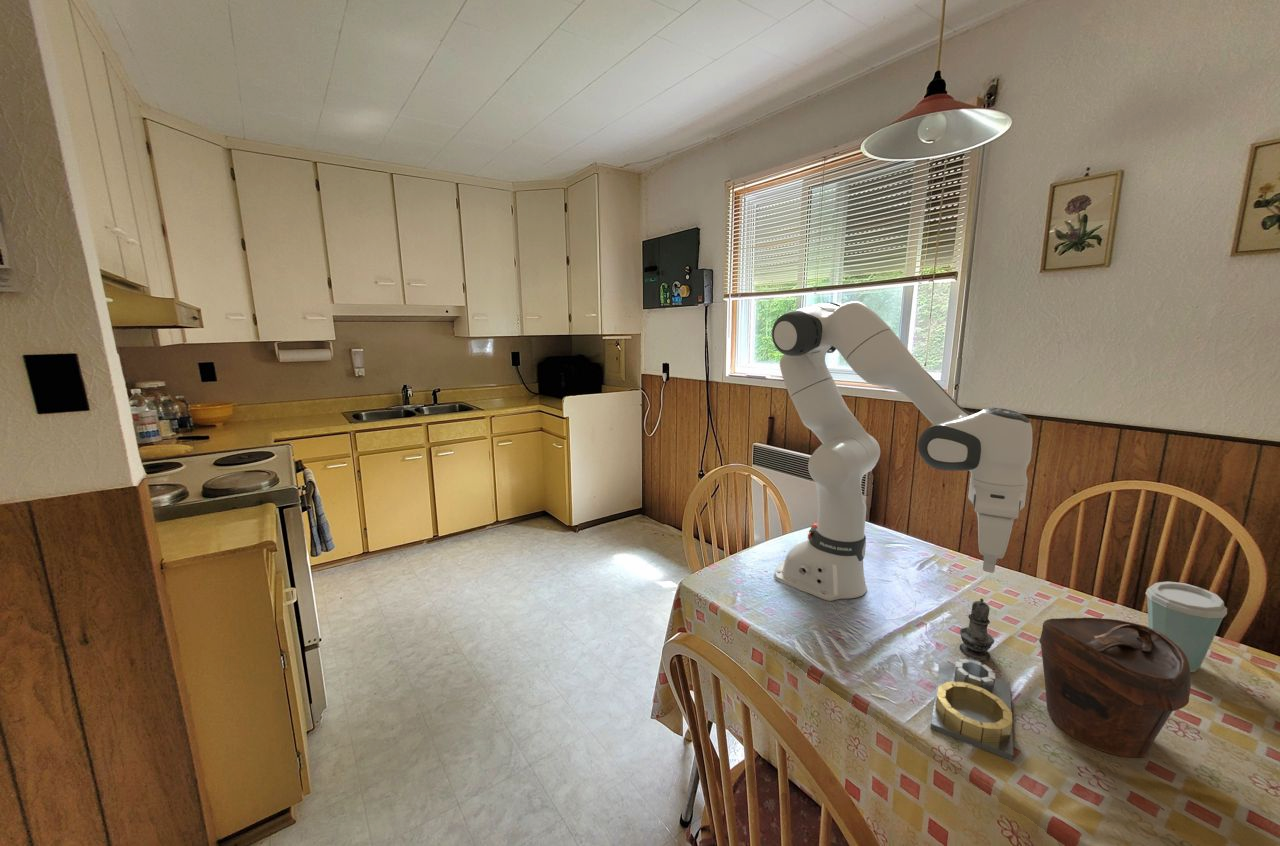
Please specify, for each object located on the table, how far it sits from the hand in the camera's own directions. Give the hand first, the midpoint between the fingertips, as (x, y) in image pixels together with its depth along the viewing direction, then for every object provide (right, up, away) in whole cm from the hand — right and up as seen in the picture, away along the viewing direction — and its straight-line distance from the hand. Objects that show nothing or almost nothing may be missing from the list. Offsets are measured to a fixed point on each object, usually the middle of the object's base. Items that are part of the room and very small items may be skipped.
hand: (988, 560), depth 97 cm
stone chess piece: (0, -20, +4) cm, 20 cm away
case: (+8, -24, -14) cm, 29 cm away
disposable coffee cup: (+37, -20, +1) cm, 42 cm away
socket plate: (-10, -23, -10) cm, 27 cm away
